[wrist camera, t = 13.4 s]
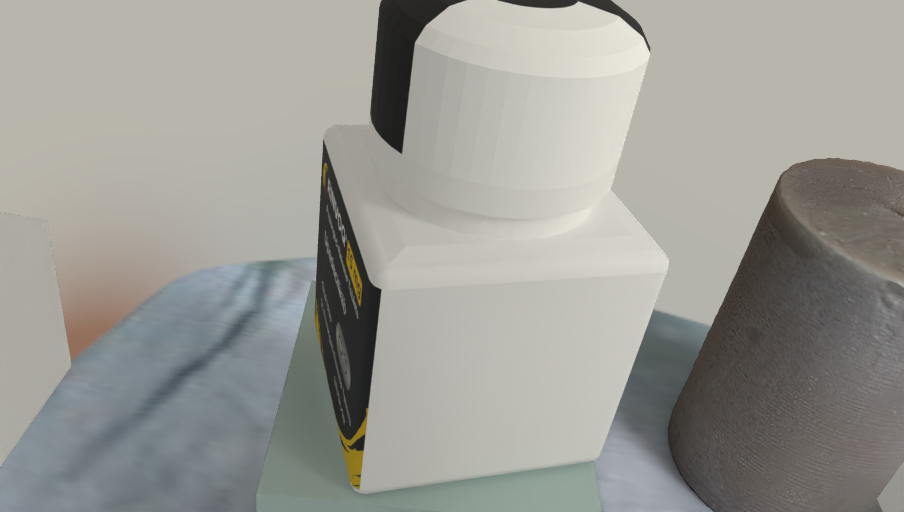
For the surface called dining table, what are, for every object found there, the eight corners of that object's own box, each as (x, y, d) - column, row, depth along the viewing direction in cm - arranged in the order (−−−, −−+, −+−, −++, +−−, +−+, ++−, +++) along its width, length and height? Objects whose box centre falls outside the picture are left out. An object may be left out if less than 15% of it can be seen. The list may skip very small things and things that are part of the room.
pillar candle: (664, 370, 41) (771, 108, 33) (852, 415, 40) (1013, 159, 32) (670, 523, 33) (813, 231, 25) (904, 583, 32) (1137, 302, 24)
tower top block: (537, 410, 31) (566, 311, 28) (562, 632, 23) (605, 527, 20) (306, 385, 30) (311, 280, 27) (255, 605, 23) (256, 493, 20)
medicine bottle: (312, 321, 25) (331, -67, 19) (516, 306, 28) (599, -47, 21) (351, 502, 20) (398, 44, 13) (602, 465, 22) (754, 56, 15)
